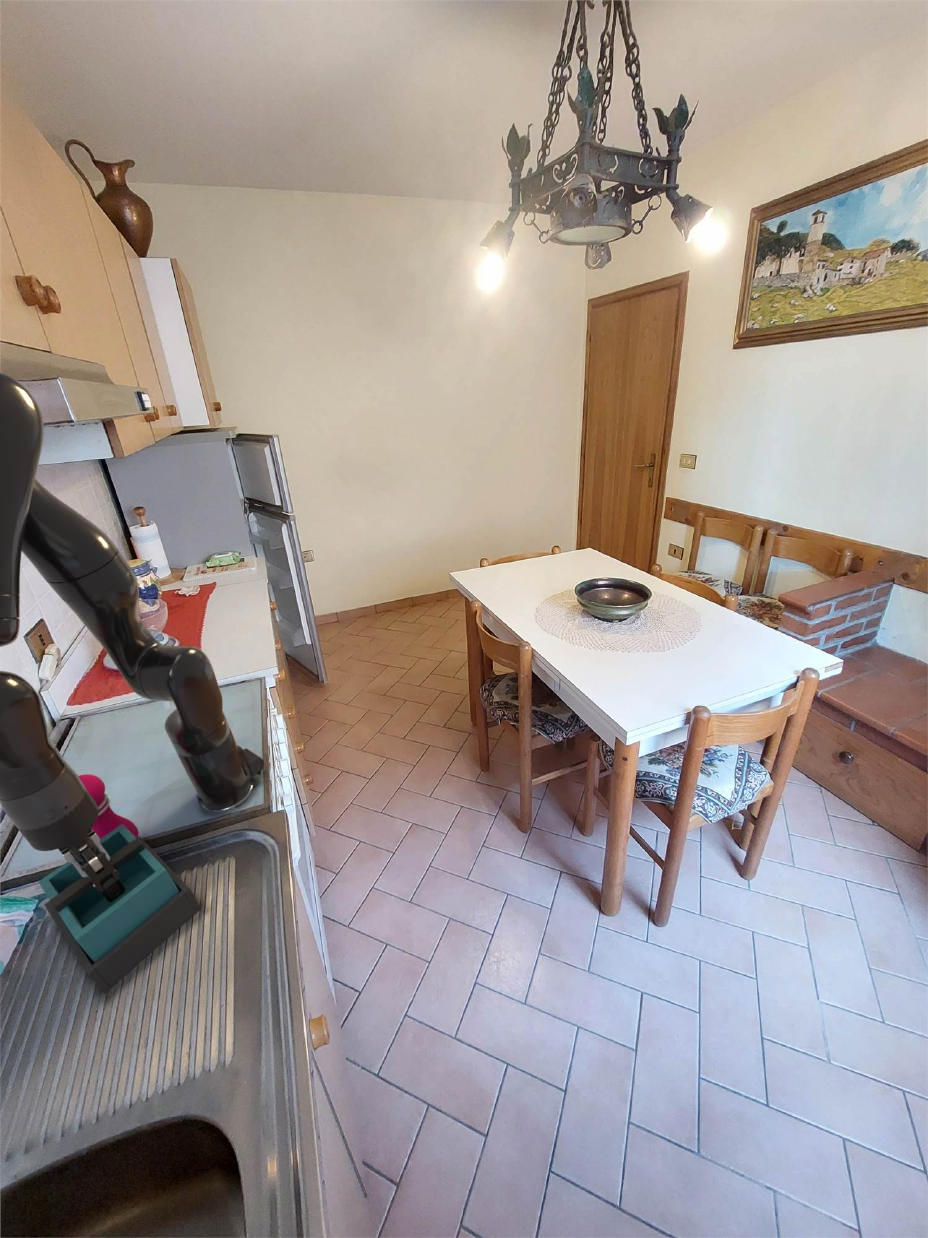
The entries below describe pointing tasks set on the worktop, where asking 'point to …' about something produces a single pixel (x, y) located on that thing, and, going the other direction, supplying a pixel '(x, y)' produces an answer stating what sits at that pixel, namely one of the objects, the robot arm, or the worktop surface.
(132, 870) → the teal tote
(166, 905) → the charcoal bin
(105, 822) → the pepper mill
